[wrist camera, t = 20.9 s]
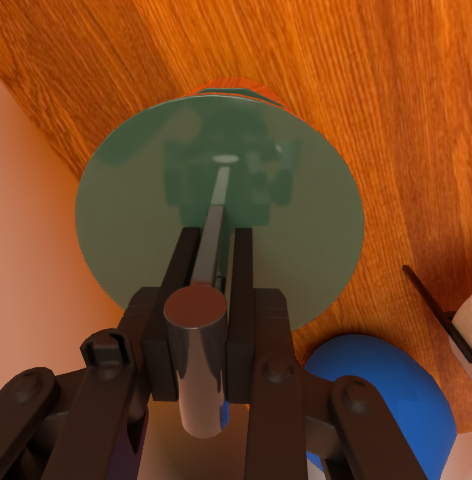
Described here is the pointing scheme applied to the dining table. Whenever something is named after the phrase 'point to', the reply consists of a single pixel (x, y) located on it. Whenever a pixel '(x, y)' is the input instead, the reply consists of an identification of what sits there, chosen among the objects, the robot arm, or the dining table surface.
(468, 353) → the planter
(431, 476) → the vase
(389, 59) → the dining table surface
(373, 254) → the dining table surface
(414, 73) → the dining table surface
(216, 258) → the lid
